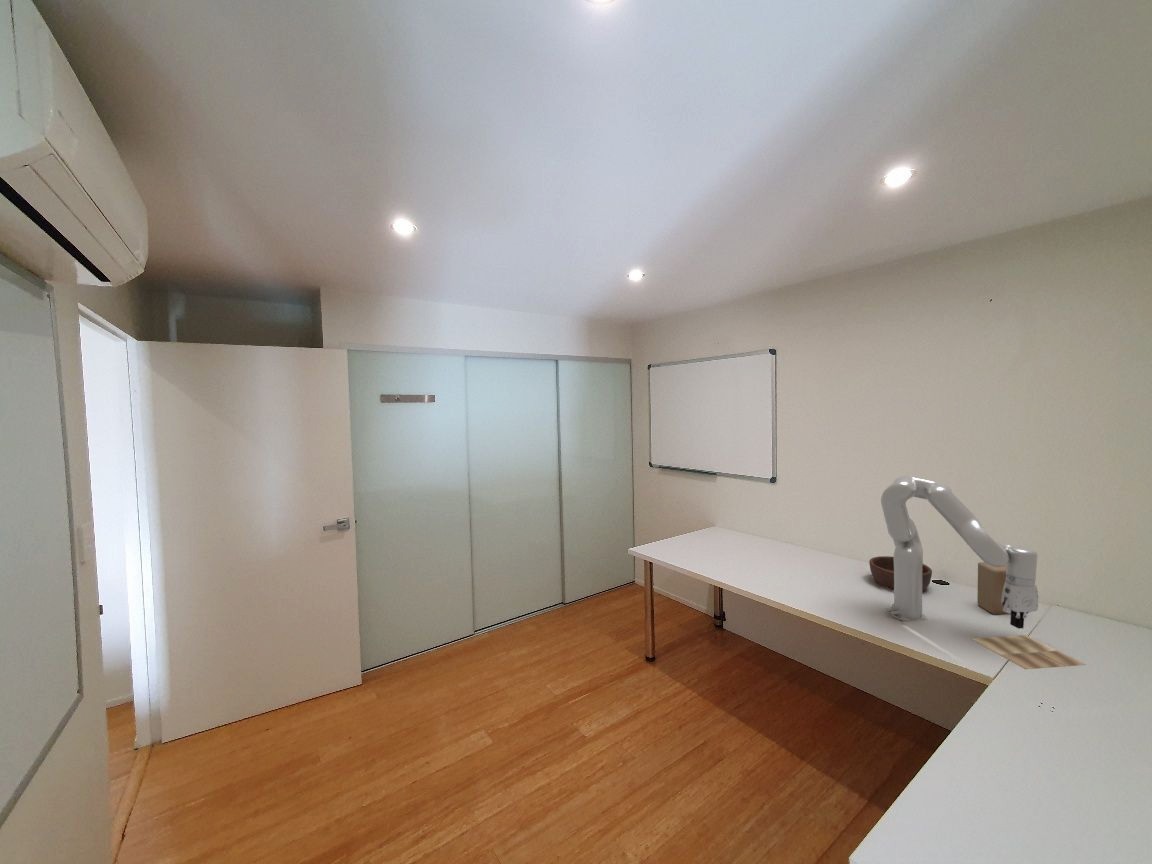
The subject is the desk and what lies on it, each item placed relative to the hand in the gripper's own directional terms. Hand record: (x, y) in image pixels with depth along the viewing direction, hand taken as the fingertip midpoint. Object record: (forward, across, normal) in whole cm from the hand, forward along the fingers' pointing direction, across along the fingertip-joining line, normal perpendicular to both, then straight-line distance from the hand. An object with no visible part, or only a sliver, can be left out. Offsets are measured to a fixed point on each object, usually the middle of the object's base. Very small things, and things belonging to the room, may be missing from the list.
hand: (1016, 626), depth 157 cm
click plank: (+6, -5, -4) cm, 9 cm away
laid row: (+6, -5, -13) cm, 15 cm away
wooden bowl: (+8, -1, +52) cm, 53 cm away
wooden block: (+6, +18, +22) cm, 29 cm away
